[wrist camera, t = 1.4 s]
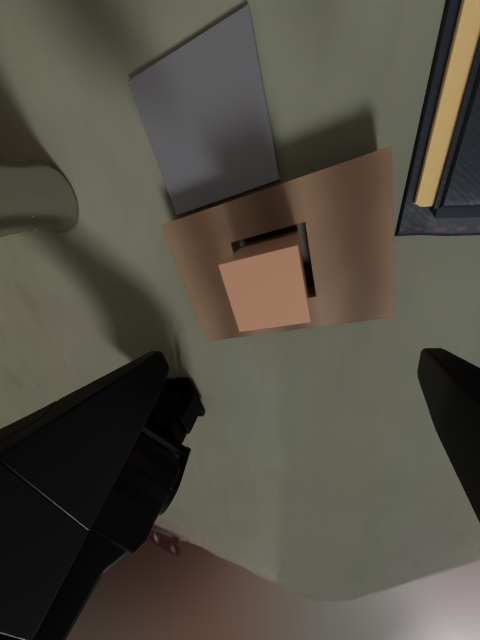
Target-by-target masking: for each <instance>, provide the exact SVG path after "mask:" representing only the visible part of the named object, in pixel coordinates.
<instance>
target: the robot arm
mask: <svg viewBox="0 0 480 640" xmlns="http://www.w3.org/2000/svg"><path fill="white" fill-rule="evenodd" d="M168 372H169V365H168V363H167V361H166V359H165V357H164V355H163V353H162V352H161V351H151V352H149V353H147V354H145V355H143V356H141V357H139V358H137V359H135V360H134V361H132V362H130V363H128V364H126V365H124V366H122V367H120V368H118V369H116V370H114V371H113V372H111V373H109V374H107V375H105V376H103V377H101V378H99V379H97V380H95V381H93V382H92V383H90V384H88V385H86V386H84V387H82V388H80V389H78V390H76V391H74V392H72V393H70V394H69V395H67V396H65V397H63V398H61V399H59V400H58V401H55V402H53V403H51V404H49V405H47V406H46V407H44V408H42V409H40V410H38V411H36V412H34V413H32V414H30V415H28V416H26V417H24V418H22V419H20V420H18V421H16V422H14V423H12V424H10V425H8V426H6V427H4V428H2V429H0V640H66V638H67V636H68V634H69V633H70V631H71V629H72V627H73V626H74V624H75V622H76V620H77V619H78V617H79V615H80V613H81V611H82V610H83V608H84V606H85V604H86V602H87V601H88V599H89V597H90V595H91V594H92V592H93V590H94V588H95V586H96V585H97V583H98V581H99V580H100V578H101V576H102V575H103V574H104V573H105V572H106V571H107V570H108V569H109V568H110V567H112V566H113V565H114V564H115V563H117V562H118V561H119V560H120V559H121V558H122V557H123V556H125V555H126V554H127V553H128V552H129V553H133V552H135V551H136V550H137V549H138V548H139V546H141V545H142V544H143V543H144V542H145V540H146V539H147V537H148V534H149V532H150V530H151V528H152V526H153V524H154V522H155V520H156V518H157V516H158V515H162V514H163V513H164V512H165V511H166V509H167V508H168V506H169V505H170V503H171V502H172V500H173V498H174V496H175V494H176V492H177V490H178V488H179V485H180V482H181V479H182V476H183V473H184V470H185V467H186V463H187V460H188V457H189V454H190V451H191V449H190V448H188V447H185V446H184V445H182V443H183V441H184V439H185V437H186V435H187V434H189V433H190V432H191V430H192V428H193V425H194V423H195V421H196V419H197V417H198V416H204V414H205V411H204V409H203V407H202V404H201V402H200V400H199V398H198V396H197V394H196V391H195V389H194V387H193V385H192V383H191V381H190V379H188V378H177V379H166V377H167V374H168ZM417 374H418V379H419V382H420V385H421V388H422V391H423V394H424V397H425V400H426V403H427V406H428V409H429V412H430V415H431V418H432V421H433V424H434V426H435V429H436V431H437V434H438V436H439V438H440V440H441V443H442V445H443V447H444V449H445V451H446V453H447V455H448V457H449V459H450V461H451V464H452V466H453V468H454V470H455V472H456V474H457V476H458V478H459V480H460V482H461V484H462V487H463V489H464V491H465V493H466V495H467V497H468V499H469V501H470V503H471V505H472V508H473V510H474V512H475V514H476V516H477V518H478V520H479V522H480V368H479V367H477V366H475V365H473V364H471V363H469V362H467V361H465V360H463V359H462V358H460V357H458V356H456V355H454V354H452V353H450V352H448V351H446V350H444V349H442V348H425V349H423V350H422V351H421V355H420V360H419V365H418V371H417Z"/></svg>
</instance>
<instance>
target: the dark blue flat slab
mask: <svg viewBox="0 0 480 640" xmlns="http://www.w3.org/2000/svg"><path fill="white" fill-rule="evenodd" d="M406 235H437V236H459V235H480V0H446V3H445V8H444V12H443V17H442V22H441V26H440V31H439V35H438V40H437V45H436V49H435V54H434V58H433V63H432V68H431V72H430V77H429V81H428V86H427V91H426V95H425V100H424V104H423V109H422V114H421V118H420V123H419V127H418V132H417V137H416V141H415V146H414V150H413V155H412V160H411V164H410V169H409V173H408V178H407V183H406V187H405V192H404V196H403V201H402V206H401V210H400V215H399V219H398V224H397V228H396V233H395V236H406Z"/></svg>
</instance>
